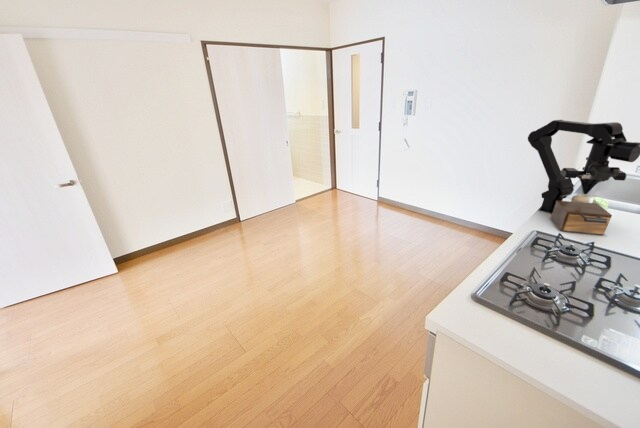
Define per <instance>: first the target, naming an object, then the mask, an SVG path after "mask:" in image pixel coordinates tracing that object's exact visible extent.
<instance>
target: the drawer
mask: <svg viewBox="0 0 640 428" xmlns="http://www.w3.org/2000/svg"><path fill="white" fill-rule="evenodd" d="M611 220H612V217H611V218H609V217H604V216H592V215H589V216H588V215H583V214H581V215H576V214H568V217H567V219H566V222H565V225H564V228H563V230H565V231H564V232H567V231H575V232H574V233H577V232H585V233H584V234H587V233H595V234H594V235H597V234H604V235H605V232H606V230H607V228H608V225H609V224H610V221H611Z"/></svg>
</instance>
